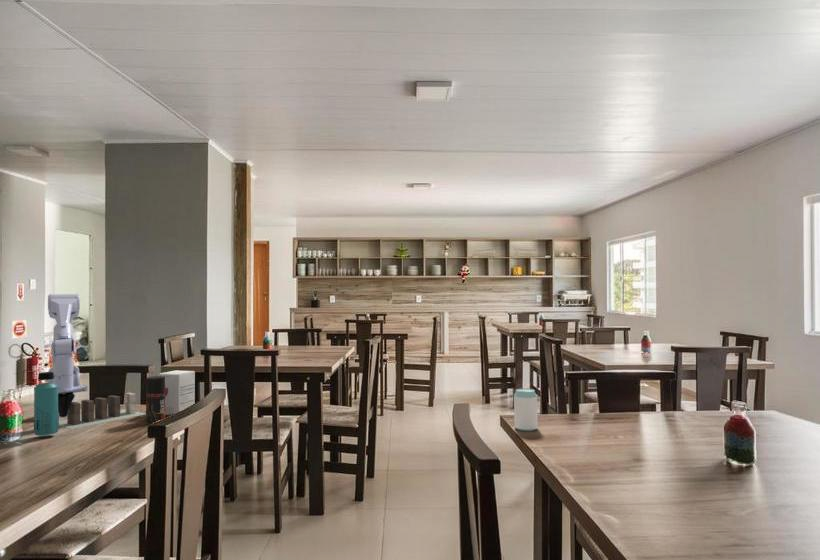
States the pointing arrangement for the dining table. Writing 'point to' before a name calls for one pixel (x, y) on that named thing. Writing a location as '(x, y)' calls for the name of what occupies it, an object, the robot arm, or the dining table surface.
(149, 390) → the deodorant
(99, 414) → the tile
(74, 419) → the tile
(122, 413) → the mat
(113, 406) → the tile
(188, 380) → the supplement box
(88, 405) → the tile
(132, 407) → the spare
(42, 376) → the beverage bottle
